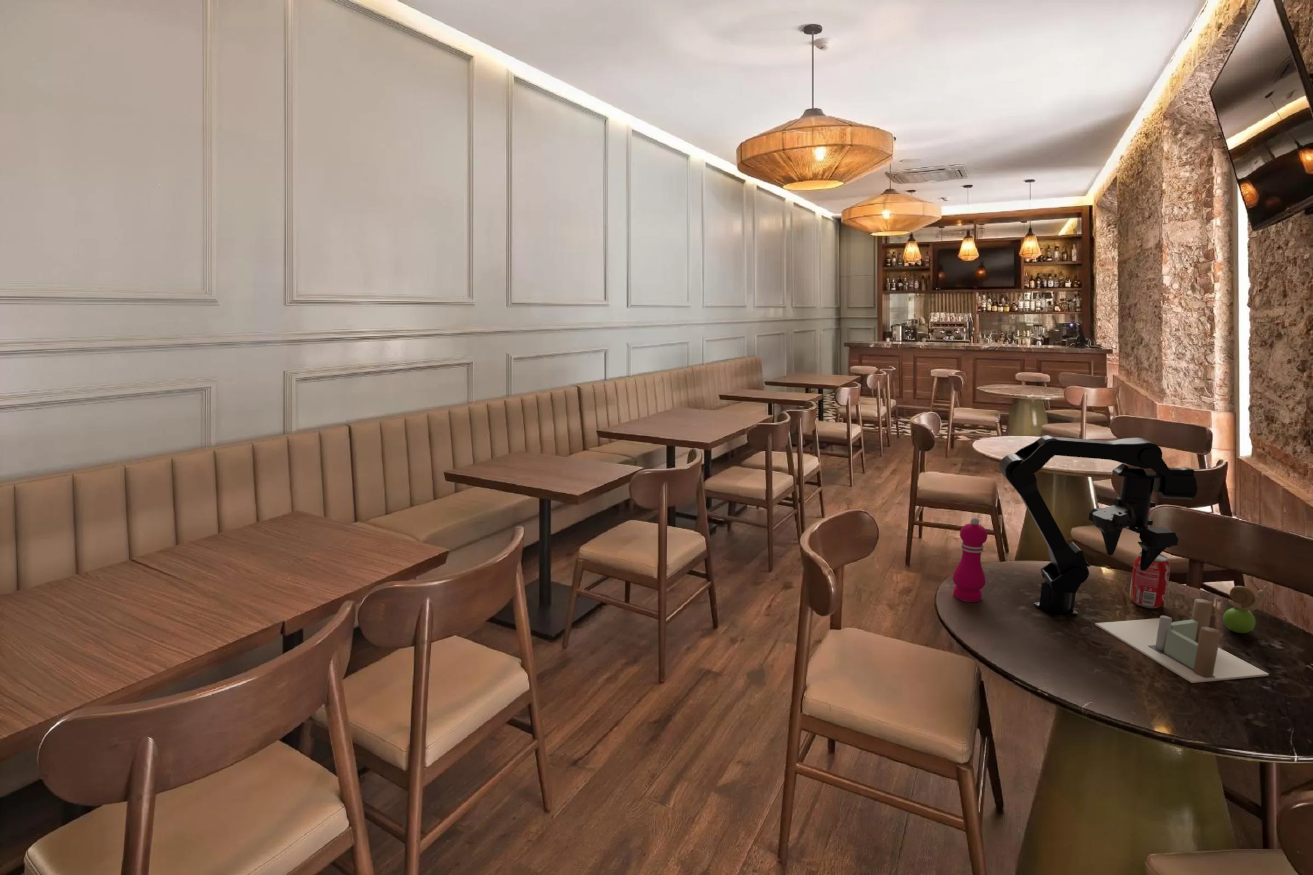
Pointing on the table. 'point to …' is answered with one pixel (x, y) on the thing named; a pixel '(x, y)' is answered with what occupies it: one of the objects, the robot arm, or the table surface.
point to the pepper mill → (970, 563)
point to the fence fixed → (1189, 647)
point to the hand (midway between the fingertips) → (1126, 562)
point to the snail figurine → (1242, 609)
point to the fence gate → (1195, 620)
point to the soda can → (1150, 582)
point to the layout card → (1144, 641)
